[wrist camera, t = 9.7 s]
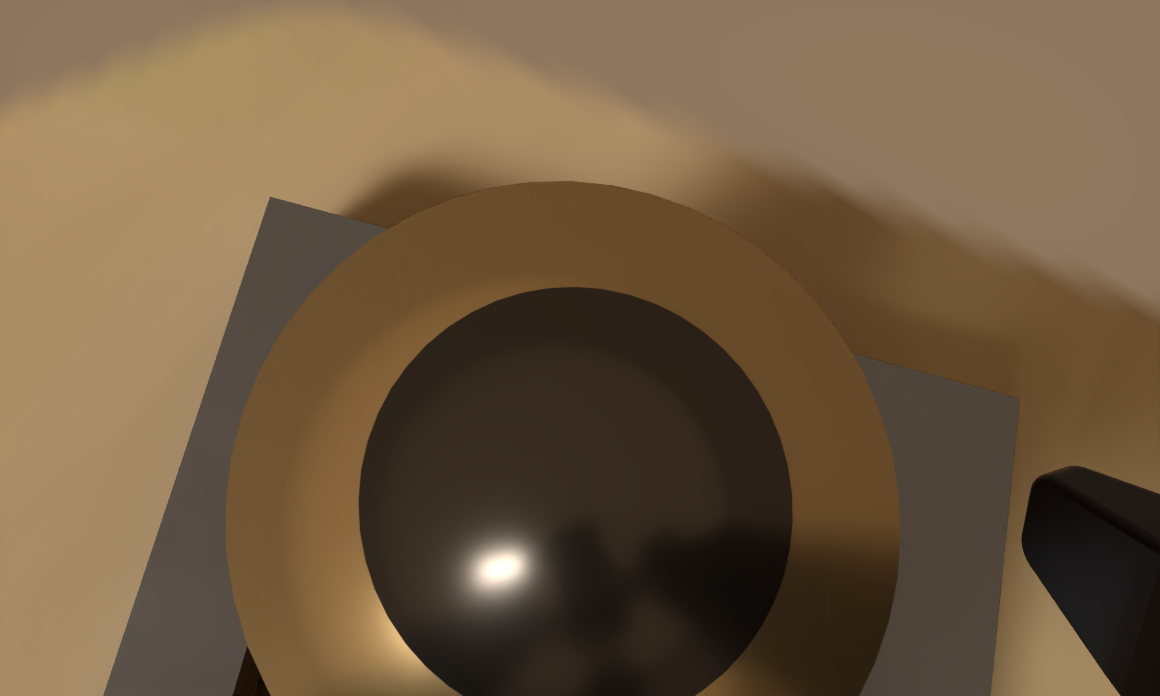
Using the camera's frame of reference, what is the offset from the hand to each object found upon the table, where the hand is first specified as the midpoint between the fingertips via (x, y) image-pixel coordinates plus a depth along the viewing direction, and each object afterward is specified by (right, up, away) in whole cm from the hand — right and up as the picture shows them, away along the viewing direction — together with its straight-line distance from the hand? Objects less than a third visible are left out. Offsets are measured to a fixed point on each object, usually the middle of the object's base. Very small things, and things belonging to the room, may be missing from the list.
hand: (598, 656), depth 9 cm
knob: (-2, -1, +11) cm, 11 cm away
